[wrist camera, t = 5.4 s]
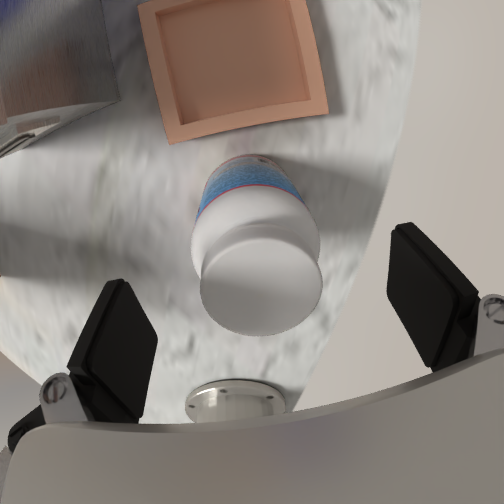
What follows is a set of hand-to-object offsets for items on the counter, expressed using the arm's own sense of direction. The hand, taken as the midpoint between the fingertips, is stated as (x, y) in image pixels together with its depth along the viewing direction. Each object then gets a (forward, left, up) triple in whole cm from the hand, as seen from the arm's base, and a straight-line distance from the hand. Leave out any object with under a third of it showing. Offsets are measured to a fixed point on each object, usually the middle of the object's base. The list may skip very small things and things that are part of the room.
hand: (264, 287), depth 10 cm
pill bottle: (-1, 0, -12) cm, 12 cm away
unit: (+13, +12, -12) cm, 22 cm away
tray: (+9, -1, -12) cm, 15 cm away
